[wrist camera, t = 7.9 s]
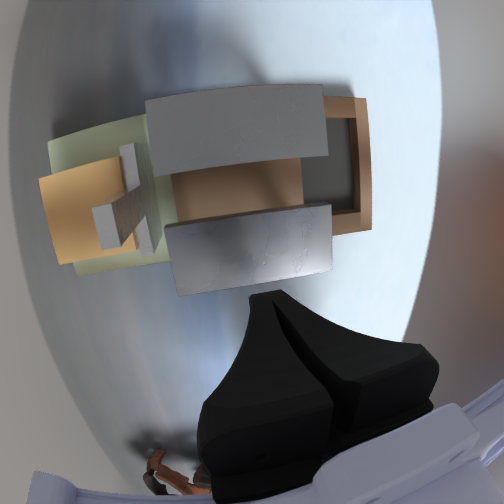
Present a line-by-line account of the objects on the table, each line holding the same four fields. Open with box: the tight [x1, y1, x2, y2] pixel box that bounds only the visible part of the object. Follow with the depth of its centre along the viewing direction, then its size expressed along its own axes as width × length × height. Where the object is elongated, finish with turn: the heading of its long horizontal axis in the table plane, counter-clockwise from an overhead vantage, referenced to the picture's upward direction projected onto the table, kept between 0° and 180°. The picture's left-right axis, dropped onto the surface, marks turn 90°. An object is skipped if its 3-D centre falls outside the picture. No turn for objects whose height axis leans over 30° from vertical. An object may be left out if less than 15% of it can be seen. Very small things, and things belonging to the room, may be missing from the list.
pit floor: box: [300, 118, 353, 211], centre depth 20 cm, size 7×4×1 cm, turn 6°
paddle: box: [92, 143, 162, 257], centre depth 14 cm, size 6×1×9 cm, turn 6°
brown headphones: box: [143, 449, 212, 495], centre depth 28 cm, size 12×10×8 cm
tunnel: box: [145, 84, 332, 296], centre depth 16 cm, size 9×8×6 cm
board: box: [48, 96, 372, 276], centre depth 19 cm, size 10×22×2 cm, turn 96°
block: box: [39, 156, 138, 265], centre depth 15 cm, size 5×5×4 cm
